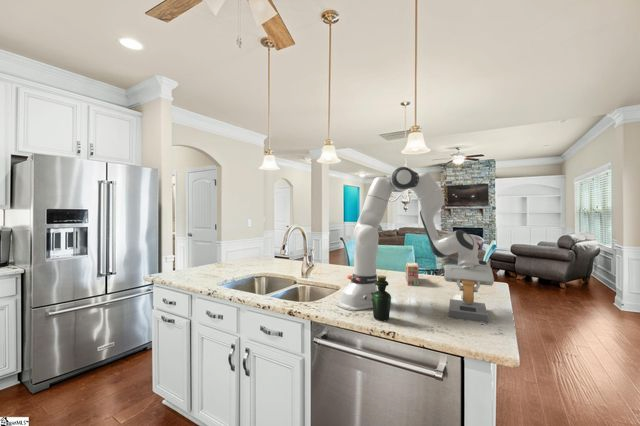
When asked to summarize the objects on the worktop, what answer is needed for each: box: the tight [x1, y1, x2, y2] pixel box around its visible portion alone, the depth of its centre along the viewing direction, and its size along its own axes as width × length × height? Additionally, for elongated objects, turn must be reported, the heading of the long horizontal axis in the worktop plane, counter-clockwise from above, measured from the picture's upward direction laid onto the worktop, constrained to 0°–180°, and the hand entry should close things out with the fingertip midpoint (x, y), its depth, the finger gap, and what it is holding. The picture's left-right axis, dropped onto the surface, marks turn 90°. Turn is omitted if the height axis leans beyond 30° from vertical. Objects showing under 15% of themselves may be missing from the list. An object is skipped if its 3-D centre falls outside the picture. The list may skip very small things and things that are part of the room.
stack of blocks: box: [405, 262, 420, 287], centre depth 196 cm, size 21×6×12 cm, turn 168°
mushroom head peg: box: [461, 280, 476, 303], centre depth 135 cm, size 5×5×9 cm
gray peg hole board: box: [448, 294, 489, 323], centre depth 138 cm, size 18×15×6 cm
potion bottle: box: [372, 275, 392, 322], centre depth 130 cm, size 8×8×18 cm
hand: (468, 290), depth 134 cm, fingers closed on mushroom head peg, 4 cm apart
